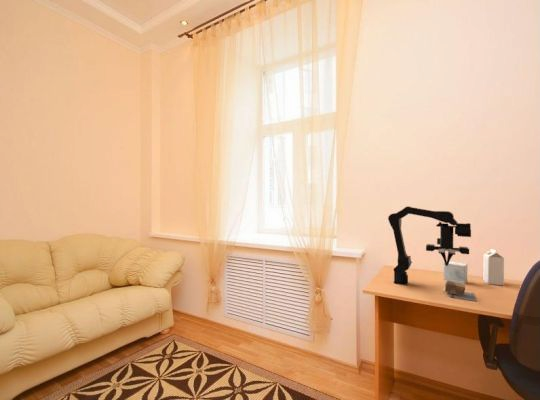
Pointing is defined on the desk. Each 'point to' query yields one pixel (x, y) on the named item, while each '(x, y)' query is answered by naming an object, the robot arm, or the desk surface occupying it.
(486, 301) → the desk surface
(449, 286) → the wooden block
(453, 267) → the skincare box
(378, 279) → the desk surface
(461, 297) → the rubber mat
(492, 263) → the milk carton
